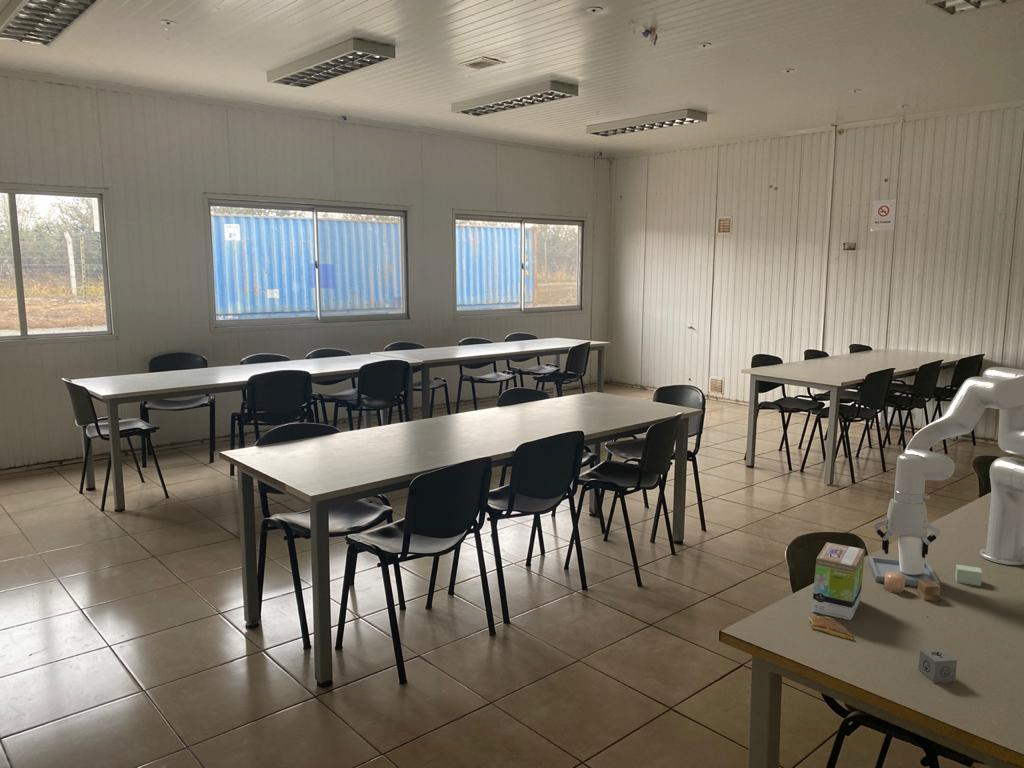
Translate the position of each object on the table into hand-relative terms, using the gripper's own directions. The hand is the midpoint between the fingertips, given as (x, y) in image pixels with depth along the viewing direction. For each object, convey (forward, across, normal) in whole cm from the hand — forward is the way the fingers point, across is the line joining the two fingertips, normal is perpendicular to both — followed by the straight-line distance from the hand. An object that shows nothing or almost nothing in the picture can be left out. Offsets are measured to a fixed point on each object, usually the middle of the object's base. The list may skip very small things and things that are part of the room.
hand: (904, 554), depth 221 cm
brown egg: (+6, +4, +12) cm, 14 cm away
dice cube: (+6, +3, +60) cm, 61 cm away
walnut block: (+6, -4, +15) cm, 17 cm away
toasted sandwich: (+7, +22, +43) cm, 49 cm away
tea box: (+6, +20, +29) cm, 36 cm away
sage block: (+6, -17, -1) cm, 18 cm away
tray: (+6, 0, 0) cm, 6 cm away
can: (+5, -3, -1) cm, 6 cm away
